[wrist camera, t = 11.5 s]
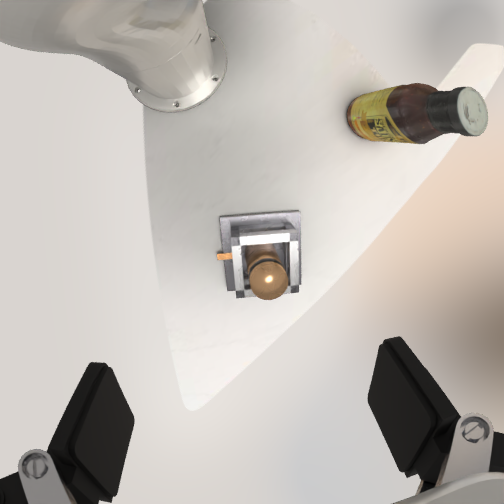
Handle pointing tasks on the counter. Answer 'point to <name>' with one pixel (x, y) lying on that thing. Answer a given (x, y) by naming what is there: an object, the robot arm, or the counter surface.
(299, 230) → the collar stand
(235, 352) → the counter surface
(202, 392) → the counter surface
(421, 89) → the sauce bottle
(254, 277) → the copper tube
